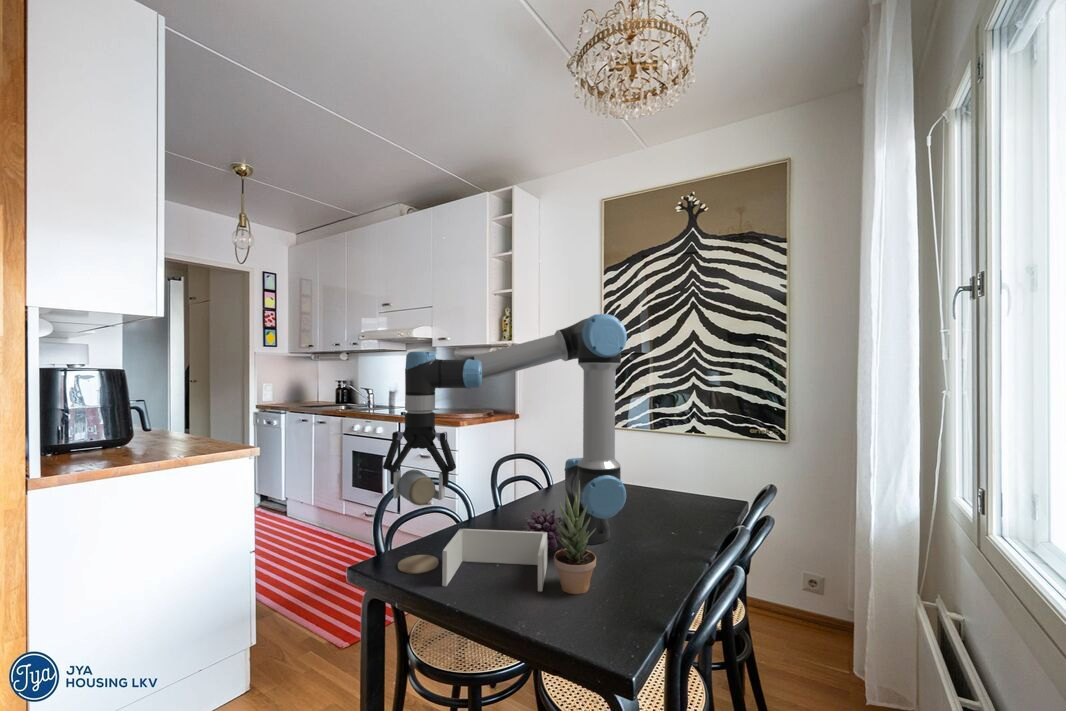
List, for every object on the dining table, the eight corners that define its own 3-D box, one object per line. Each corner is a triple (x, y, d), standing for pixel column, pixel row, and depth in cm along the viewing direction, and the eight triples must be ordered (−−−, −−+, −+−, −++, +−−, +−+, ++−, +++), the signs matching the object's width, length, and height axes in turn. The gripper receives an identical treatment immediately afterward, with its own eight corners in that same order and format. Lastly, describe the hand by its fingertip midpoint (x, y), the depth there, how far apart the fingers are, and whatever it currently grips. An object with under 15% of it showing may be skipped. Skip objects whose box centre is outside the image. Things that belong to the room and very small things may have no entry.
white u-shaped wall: (547, 563, 119) (547, 532, 119) (542, 591, 104) (542, 555, 104) (459, 559, 122) (459, 528, 122) (442, 586, 107) (442, 550, 107)
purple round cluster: (574, 552, 127) (574, 507, 127) (544, 565, 118) (544, 517, 119) (543, 540, 135) (543, 499, 135) (513, 552, 127) (513, 508, 127)
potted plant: (566, 602, 100) (566, 486, 100) (547, 583, 108) (547, 476, 109) (606, 593, 104) (605, 481, 104) (584, 575, 112) (584, 472, 113)
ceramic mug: (409, 508, 113) (410, 476, 113) (397, 501, 119) (398, 470, 120) (449, 502, 119) (450, 472, 119) (435, 495, 126) (436, 466, 126)
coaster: (443, 558, 123) (443, 555, 123) (431, 574, 113) (431, 572, 113) (406, 556, 124) (406, 554, 124) (391, 572, 114) (391, 570, 114)
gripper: (468, 410, 122) (468, 495, 121) (382, 409, 124) (381, 492, 124) (461, 413, 114) (460, 503, 114) (369, 412, 117) (368, 500, 116)
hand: (419, 497), depth 119 cm, fingers closed on ceramic mug, 11 cm apart
